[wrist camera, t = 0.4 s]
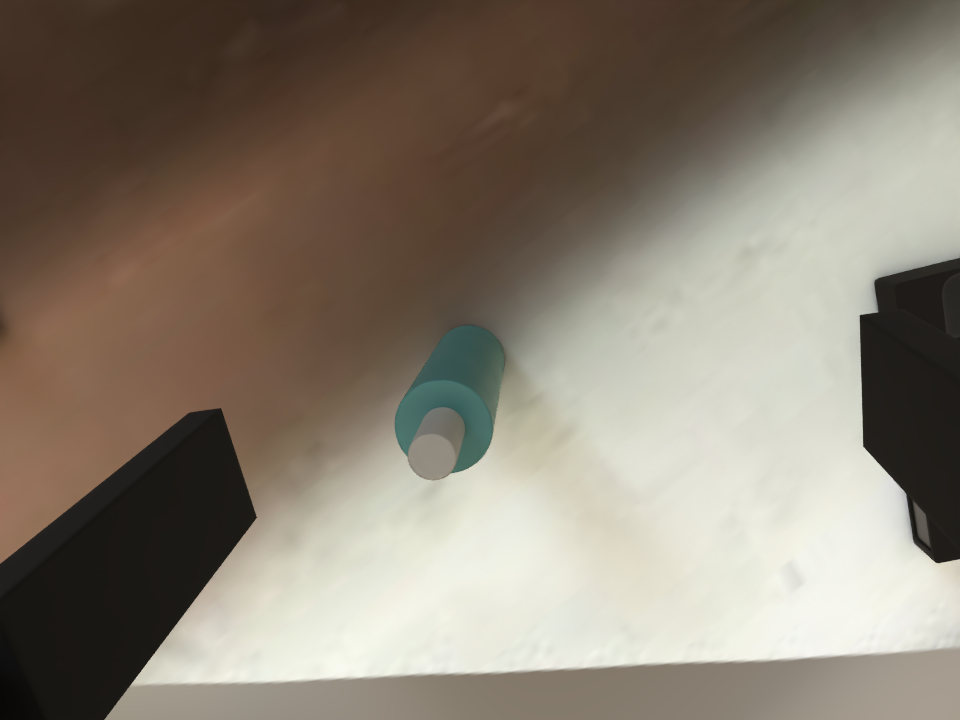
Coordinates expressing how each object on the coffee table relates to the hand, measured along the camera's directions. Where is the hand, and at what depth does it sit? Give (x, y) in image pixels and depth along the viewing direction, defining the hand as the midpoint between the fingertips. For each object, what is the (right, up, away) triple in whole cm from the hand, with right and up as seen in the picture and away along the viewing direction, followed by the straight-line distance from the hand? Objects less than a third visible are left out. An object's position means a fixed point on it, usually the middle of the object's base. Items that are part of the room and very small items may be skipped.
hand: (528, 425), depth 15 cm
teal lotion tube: (-2, +1, +22) cm, 22 cm away
